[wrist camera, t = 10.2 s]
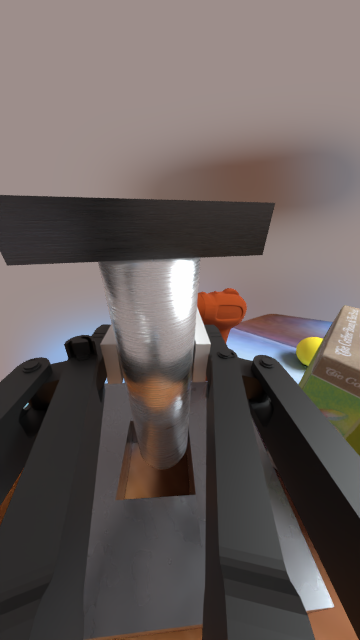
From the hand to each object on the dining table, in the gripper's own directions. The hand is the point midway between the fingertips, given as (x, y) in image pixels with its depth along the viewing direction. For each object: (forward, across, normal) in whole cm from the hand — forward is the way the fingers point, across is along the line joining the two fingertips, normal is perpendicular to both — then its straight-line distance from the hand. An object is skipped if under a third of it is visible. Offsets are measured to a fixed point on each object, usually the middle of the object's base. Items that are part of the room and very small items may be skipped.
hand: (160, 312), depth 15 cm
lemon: (+11, +28, -16) cm, 34 cm away
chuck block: (-5, 0, -16) cm, 16 cm away
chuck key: (-5, 0, -9) cm, 11 cm away
